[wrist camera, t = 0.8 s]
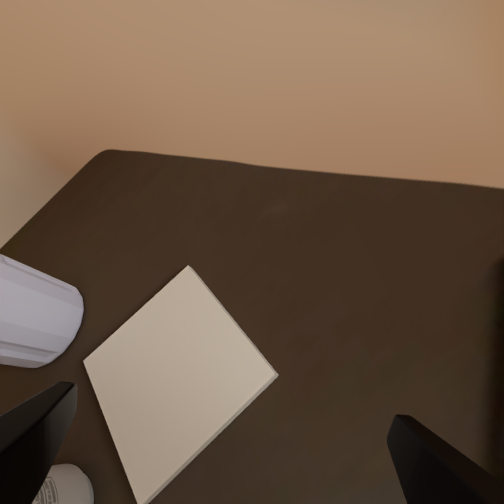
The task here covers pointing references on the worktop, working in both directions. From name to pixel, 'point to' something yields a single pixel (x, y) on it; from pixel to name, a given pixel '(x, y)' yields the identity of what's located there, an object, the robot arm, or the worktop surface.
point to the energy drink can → (65, 487)
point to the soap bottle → (35, 315)
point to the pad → (174, 381)
